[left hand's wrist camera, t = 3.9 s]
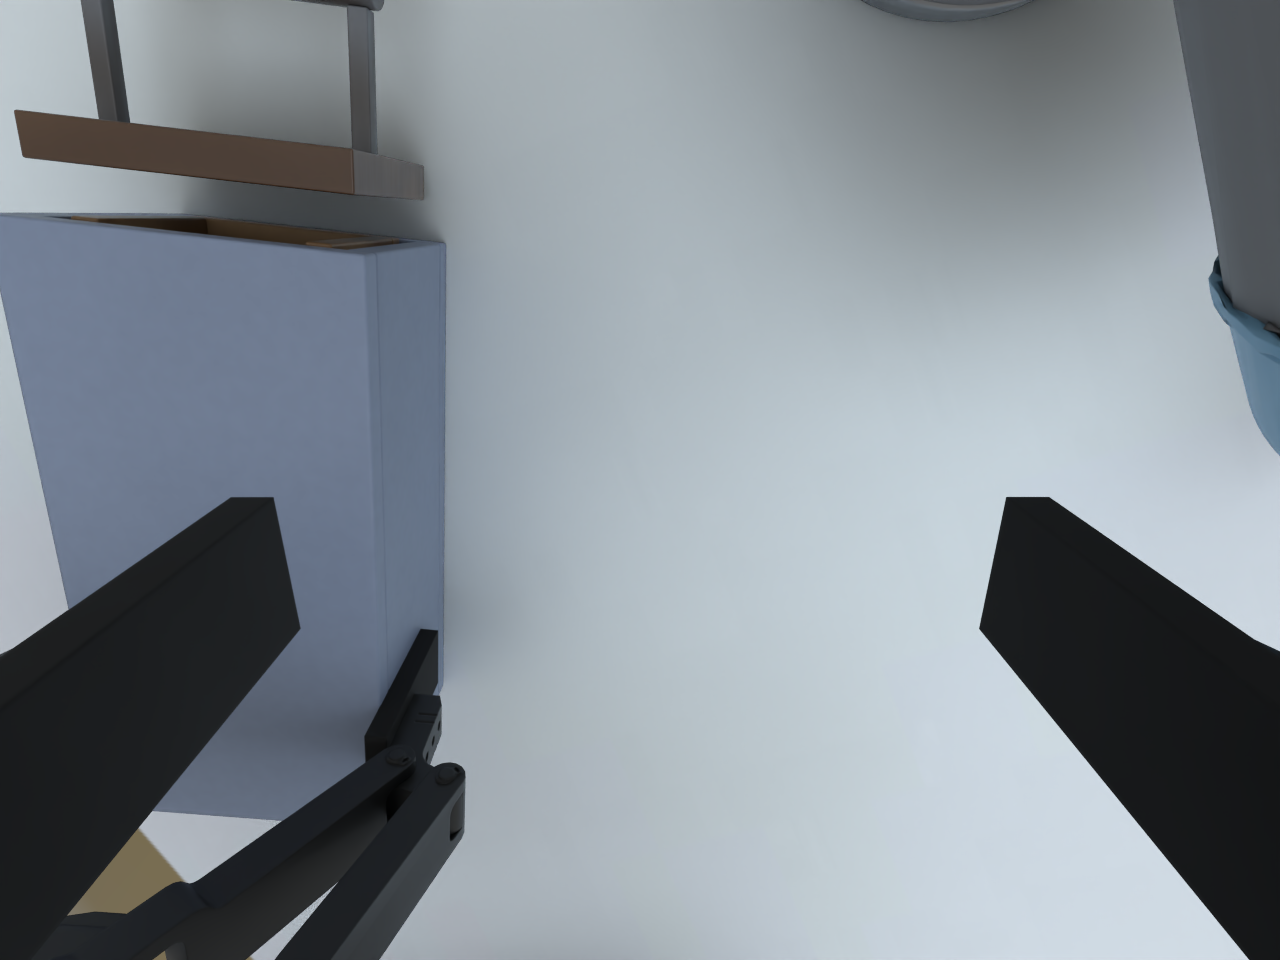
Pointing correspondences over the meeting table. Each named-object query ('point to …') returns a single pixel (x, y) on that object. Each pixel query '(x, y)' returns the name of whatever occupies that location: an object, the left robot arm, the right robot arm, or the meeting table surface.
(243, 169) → the drawer
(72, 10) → the meeting table surface
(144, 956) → the right robot arm
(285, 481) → the cabinet
